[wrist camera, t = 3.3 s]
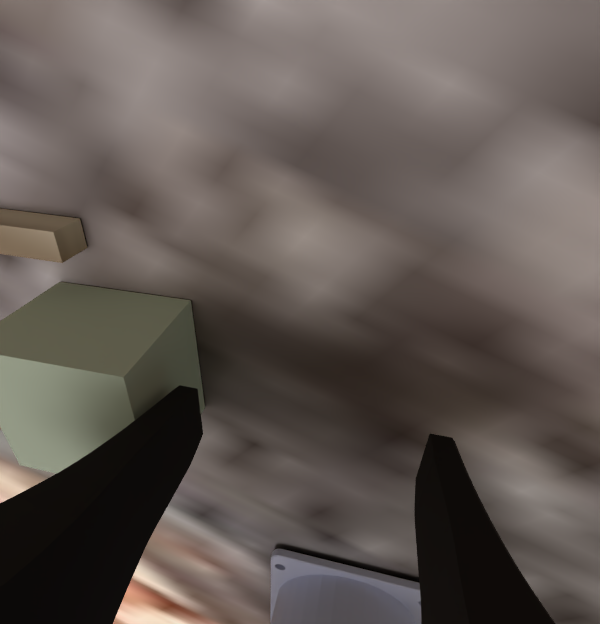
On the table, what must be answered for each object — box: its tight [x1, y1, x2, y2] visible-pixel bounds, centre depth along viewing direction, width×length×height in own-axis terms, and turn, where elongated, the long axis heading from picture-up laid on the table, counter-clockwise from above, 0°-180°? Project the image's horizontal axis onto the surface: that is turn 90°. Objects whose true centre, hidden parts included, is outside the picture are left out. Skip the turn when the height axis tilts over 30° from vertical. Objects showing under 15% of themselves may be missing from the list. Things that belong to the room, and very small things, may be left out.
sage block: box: [0, 282, 205, 474], centre depth 14 cm, size 5×5×4 cm
